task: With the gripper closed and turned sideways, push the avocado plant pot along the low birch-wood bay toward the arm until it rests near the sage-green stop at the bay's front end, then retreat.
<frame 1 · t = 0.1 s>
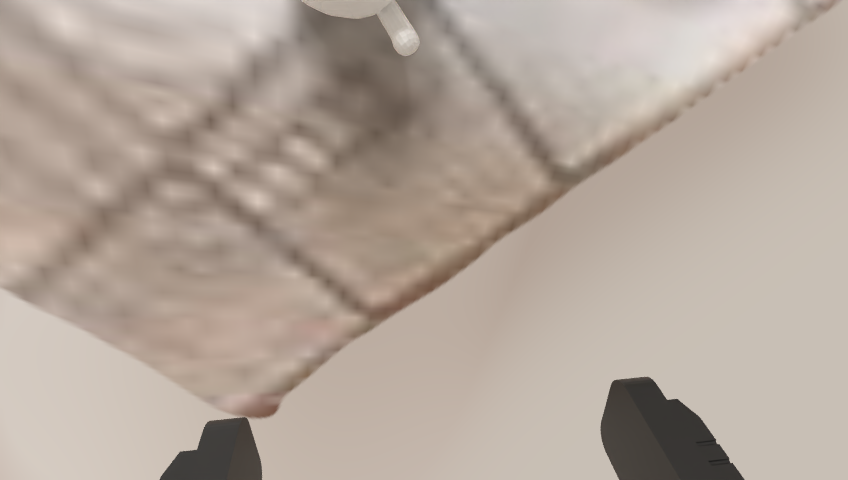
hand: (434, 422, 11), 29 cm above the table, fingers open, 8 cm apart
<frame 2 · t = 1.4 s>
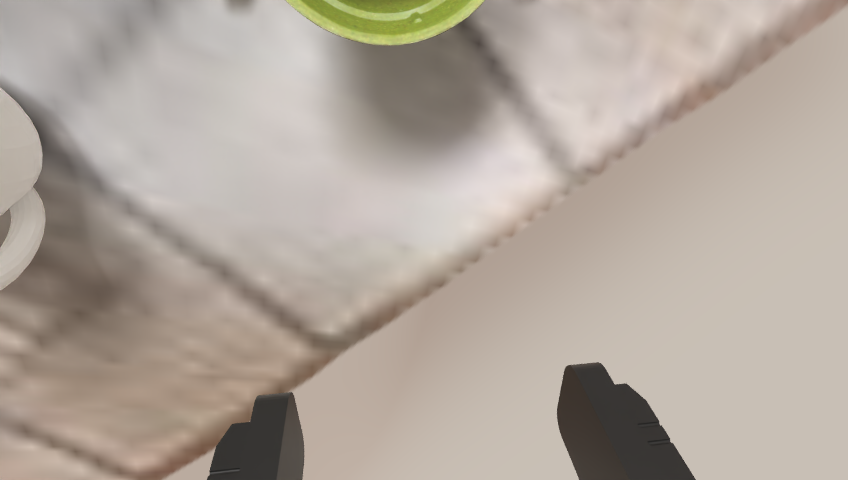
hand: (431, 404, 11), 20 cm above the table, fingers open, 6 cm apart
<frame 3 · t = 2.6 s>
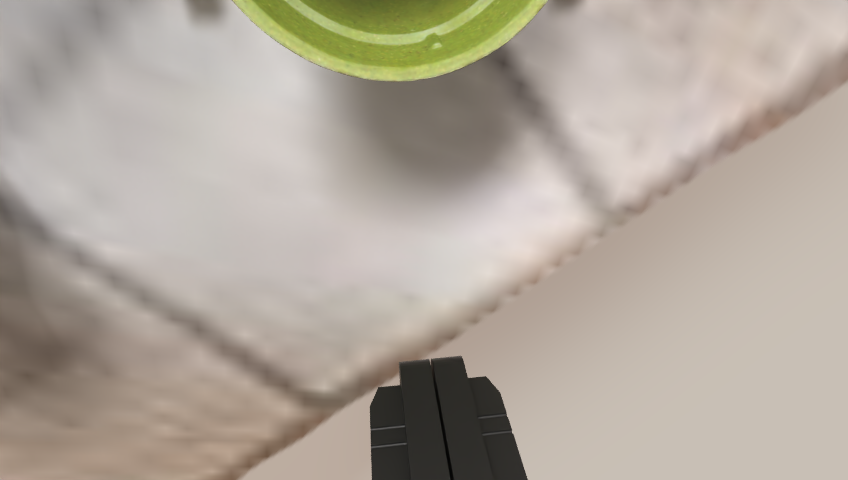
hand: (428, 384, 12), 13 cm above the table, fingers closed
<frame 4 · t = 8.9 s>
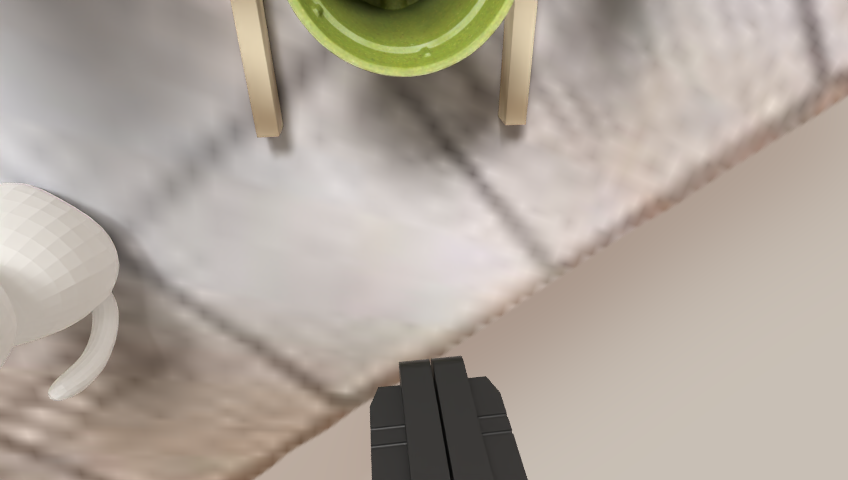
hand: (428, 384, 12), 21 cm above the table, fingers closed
cat figurine: (63, 242, 32), on the table
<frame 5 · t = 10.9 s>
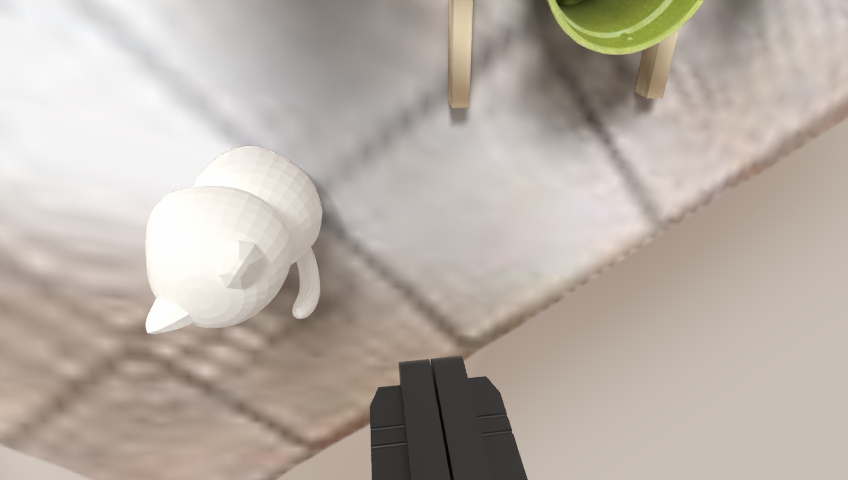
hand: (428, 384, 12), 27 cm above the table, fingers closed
cat figurine: (271, 198, 38), on the table
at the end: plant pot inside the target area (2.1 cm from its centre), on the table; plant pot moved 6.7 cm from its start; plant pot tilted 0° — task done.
